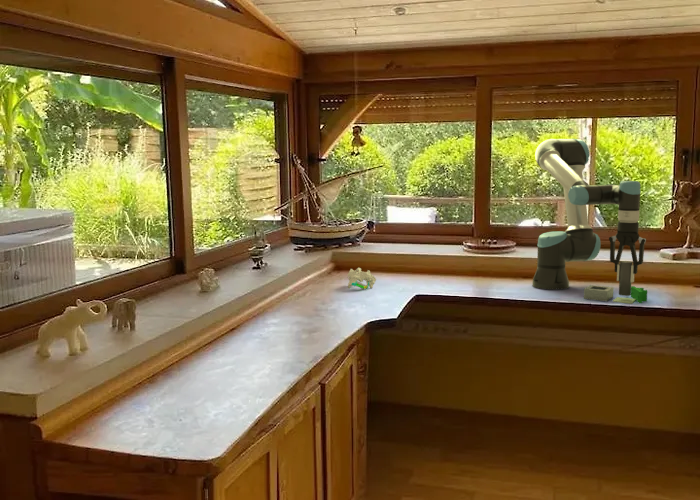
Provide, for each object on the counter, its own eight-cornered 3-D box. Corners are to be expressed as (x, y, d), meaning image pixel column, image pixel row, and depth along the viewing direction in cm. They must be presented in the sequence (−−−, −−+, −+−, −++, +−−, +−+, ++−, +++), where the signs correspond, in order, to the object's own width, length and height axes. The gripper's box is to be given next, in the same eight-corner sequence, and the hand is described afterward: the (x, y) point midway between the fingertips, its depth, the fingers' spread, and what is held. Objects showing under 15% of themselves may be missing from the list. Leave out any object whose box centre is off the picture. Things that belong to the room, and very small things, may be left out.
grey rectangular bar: (617, 294, 274) (618, 262, 272) (620, 292, 278) (621, 260, 276) (629, 296, 272) (630, 263, 270) (631, 294, 276) (633, 261, 274)
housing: (583, 298, 280) (584, 288, 280) (590, 294, 288) (590, 285, 287) (607, 301, 275) (607, 291, 275) (612, 297, 283) (613, 287, 282)
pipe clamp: (649, 303, 272) (649, 292, 271) (639, 303, 272) (639, 292, 272) (640, 297, 283) (640, 285, 282) (630, 297, 283) (631, 285, 283)
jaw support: (338, 283, 300) (345, 265, 305) (344, 295, 306) (351, 277, 312) (363, 285, 295) (370, 267, 300) (369, 297, 301) (376, 279, 306)
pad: (612, 301, 275) (612, 300, 274) (617, 298, 280) (617, 296, 280) (631, 303, 271) (631, 302, 271) (635, 300, 276) (635, 298, 276)
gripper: (602, 221, 273) (599, 280, 276) (650, 223, 263) (647, 285, 266) (607, 219, 279) (604, 277, 282) (654, 221, 269) (651, 281, 272)
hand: (625, 281), depth 274 cm, fingers closed on grey rectangular bar, 4 cm apart
